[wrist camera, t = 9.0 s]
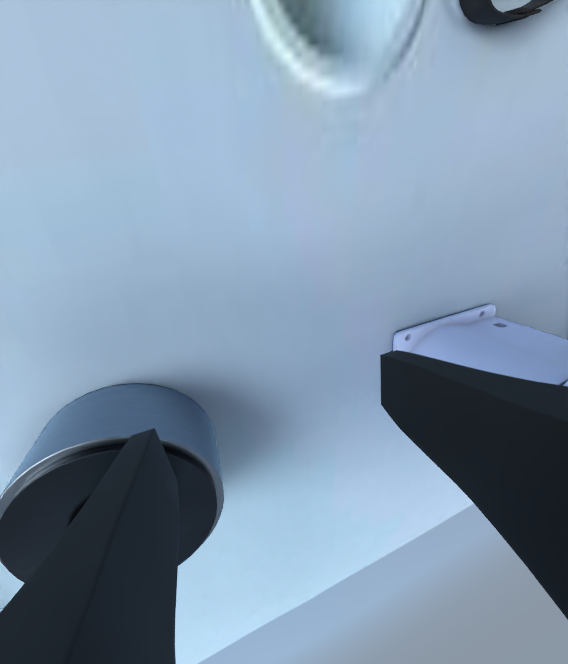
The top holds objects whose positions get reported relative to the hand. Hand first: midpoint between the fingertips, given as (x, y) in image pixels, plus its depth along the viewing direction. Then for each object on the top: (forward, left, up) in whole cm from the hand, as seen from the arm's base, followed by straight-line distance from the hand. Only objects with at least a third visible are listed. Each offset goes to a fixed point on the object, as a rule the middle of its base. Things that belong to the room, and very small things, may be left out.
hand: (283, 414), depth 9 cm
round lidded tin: (+8, +7, -9) cm, 14 cm away
